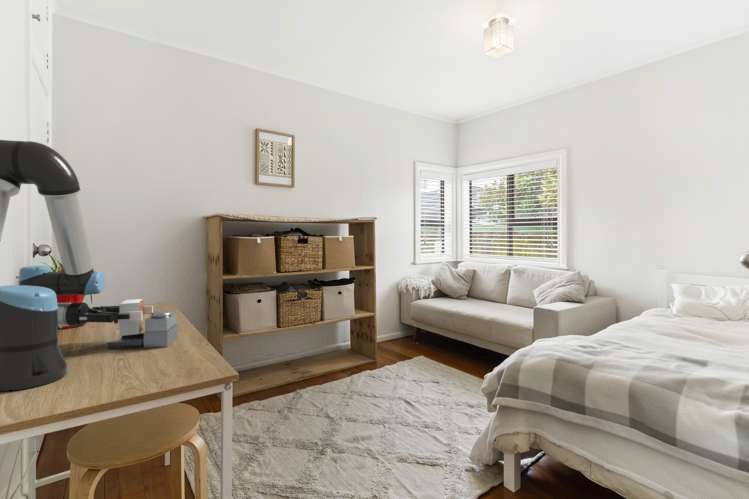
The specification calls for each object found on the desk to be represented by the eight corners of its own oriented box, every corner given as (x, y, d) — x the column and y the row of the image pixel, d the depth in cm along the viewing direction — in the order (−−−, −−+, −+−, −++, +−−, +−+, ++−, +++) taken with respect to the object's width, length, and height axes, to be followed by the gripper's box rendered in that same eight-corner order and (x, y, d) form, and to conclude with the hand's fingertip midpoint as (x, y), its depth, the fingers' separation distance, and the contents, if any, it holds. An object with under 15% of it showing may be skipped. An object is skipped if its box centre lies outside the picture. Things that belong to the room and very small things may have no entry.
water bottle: (76, 321, 157) (75, 261, 156) (89, 325, 152) (88, 262, 151) (48, 326, 149) (47, 262, 148) (60, 330, 144) (59, 263, 143)
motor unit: (167, 346, 125) (167, 315, 124) (107, 349, 121) (106, 317, 121) (177, 337, 136) (177, 309, 135) (122, 339, 132) (122, 310, 132)
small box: (139, 334, 125) (139, 302, 125) (119, 336, 123) (118, 303, 123) (144, 328, 133) (143, 298, 132) (125, 330, 130) (124, 299, 130)
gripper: (88, 318, 135) (158, 316, 139) (50, 334, 114) (134, 332, 118) (88, 297, 134) (158, 296, 139) (49, 309, 113) (133, 308, 118)
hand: (147, 312), depth 128 cm, fingers closed on small box, 9 cm apart
